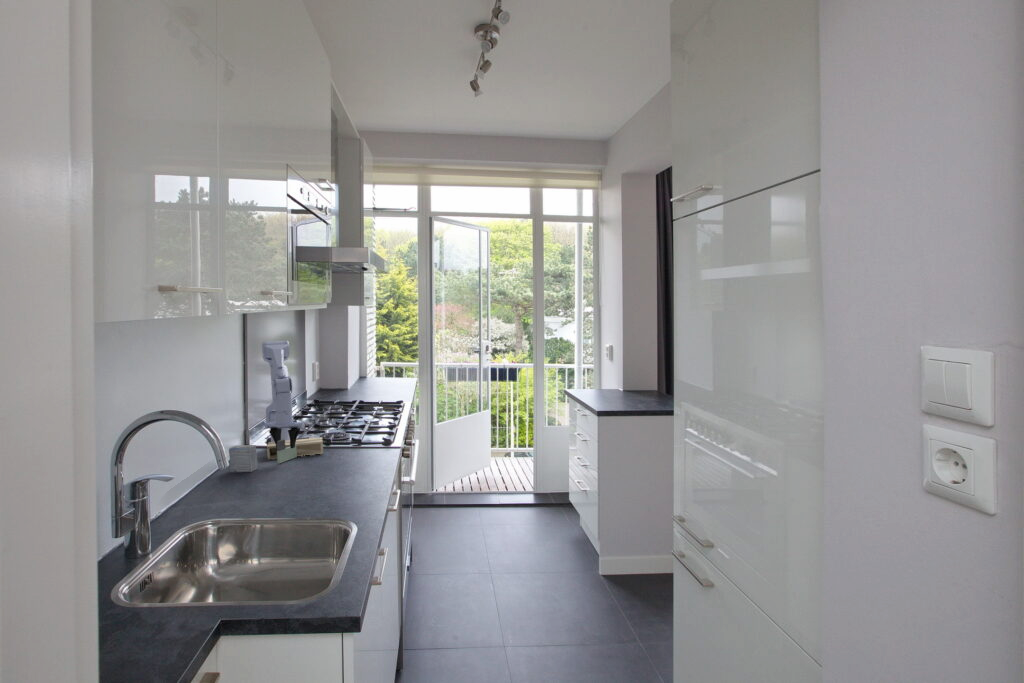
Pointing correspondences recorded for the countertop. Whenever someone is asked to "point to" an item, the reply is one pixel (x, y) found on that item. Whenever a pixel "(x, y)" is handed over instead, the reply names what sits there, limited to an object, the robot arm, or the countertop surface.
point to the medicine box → (243, 458)
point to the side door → (285, 452)
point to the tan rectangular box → (298, 447)
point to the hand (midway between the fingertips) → (285, 447)
